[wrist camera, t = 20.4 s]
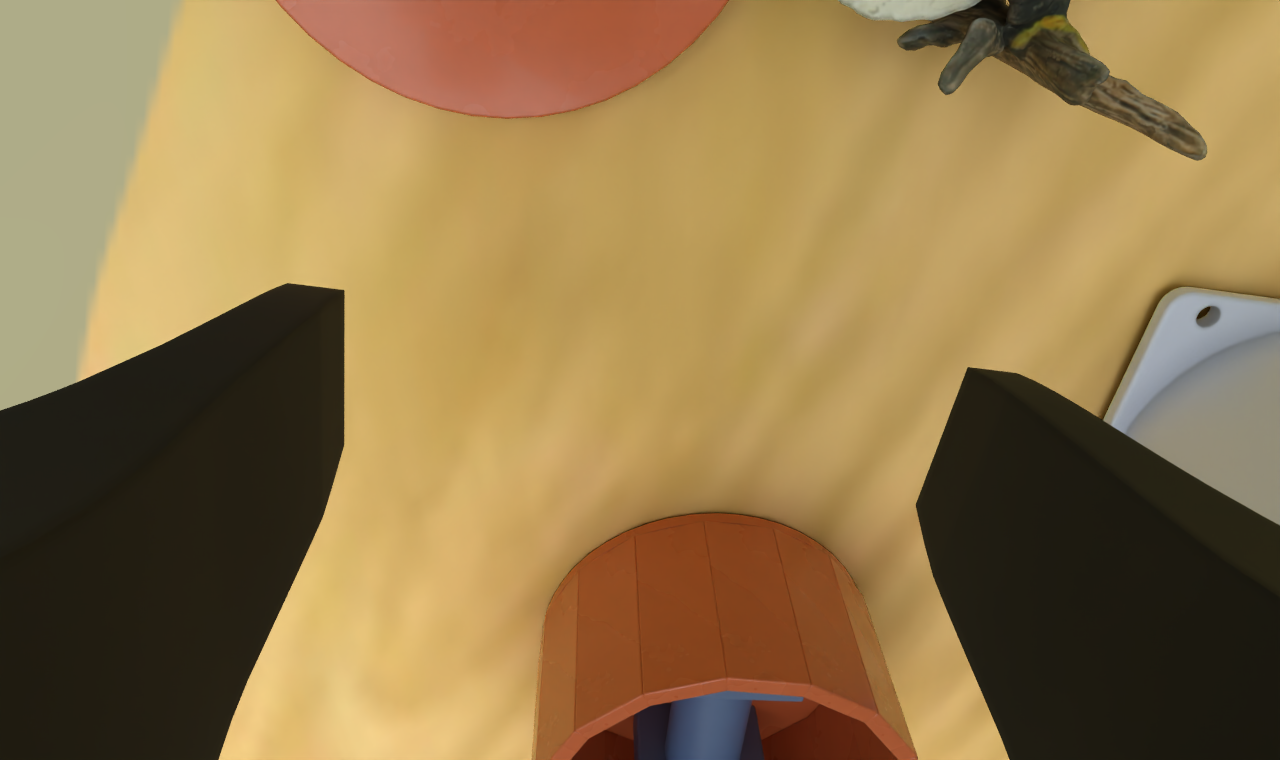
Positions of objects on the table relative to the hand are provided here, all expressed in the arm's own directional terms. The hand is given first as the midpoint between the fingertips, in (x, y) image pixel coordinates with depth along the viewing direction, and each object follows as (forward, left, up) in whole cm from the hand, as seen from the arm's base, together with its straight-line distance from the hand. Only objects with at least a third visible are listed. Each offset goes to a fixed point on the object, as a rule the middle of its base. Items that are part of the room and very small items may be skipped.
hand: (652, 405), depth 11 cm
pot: (-4, +13, -9) cm, 17 cm away
